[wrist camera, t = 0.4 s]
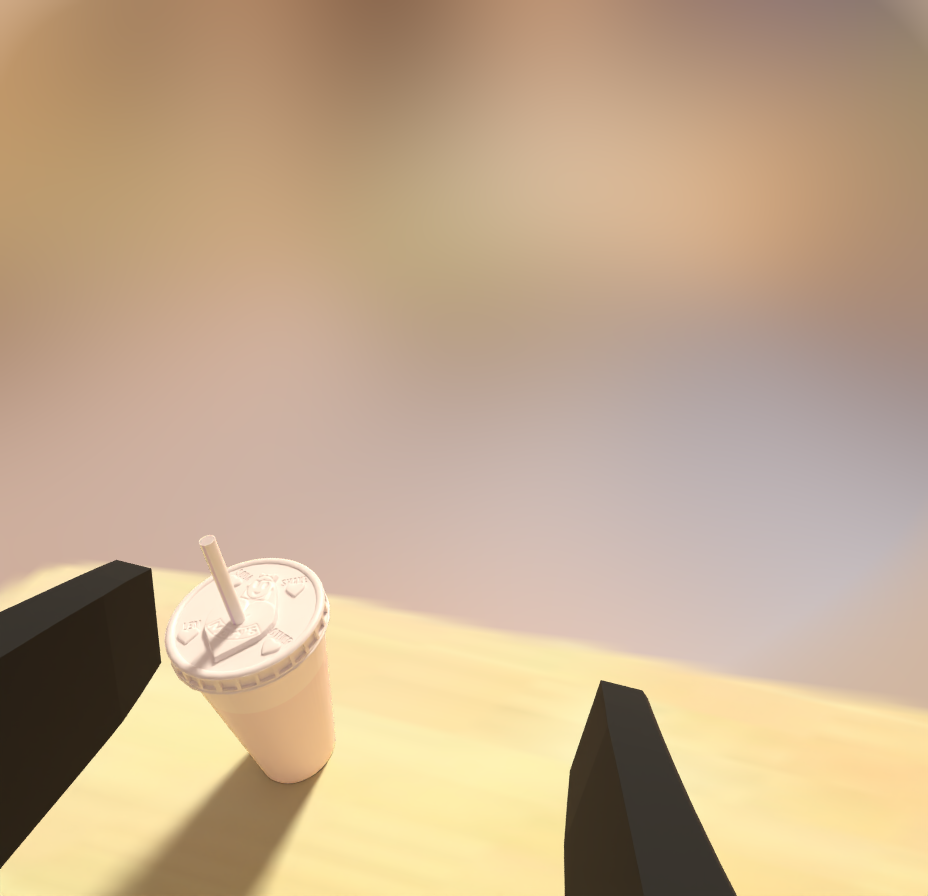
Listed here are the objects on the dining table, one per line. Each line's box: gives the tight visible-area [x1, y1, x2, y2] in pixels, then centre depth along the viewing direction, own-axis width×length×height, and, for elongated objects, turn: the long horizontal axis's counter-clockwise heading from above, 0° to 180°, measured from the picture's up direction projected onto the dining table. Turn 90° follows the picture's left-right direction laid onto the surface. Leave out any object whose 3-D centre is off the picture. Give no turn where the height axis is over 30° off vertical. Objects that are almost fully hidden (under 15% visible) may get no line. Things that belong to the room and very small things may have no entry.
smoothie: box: [165, 535, 335, 783], centre depth 26 cm, size 6×6×14 cm
